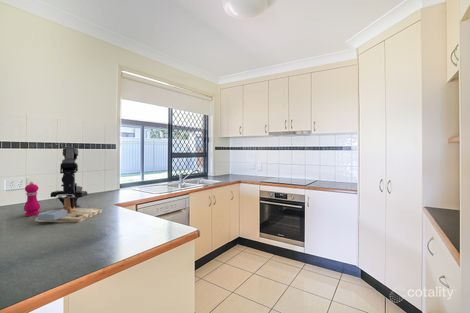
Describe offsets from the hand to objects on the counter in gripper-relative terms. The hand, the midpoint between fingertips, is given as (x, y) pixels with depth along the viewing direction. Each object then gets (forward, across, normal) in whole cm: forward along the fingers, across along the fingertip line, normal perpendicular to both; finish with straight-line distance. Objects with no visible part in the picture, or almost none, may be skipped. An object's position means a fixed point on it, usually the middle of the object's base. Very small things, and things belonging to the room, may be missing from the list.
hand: (69, 208), depth 136 cm
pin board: (+4, -3, +3) cm, 6 cm away
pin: (+3, 0, 0) cm, 3 cm away
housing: (+2, 0, +12) cm, 12 cm away
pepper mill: (+4, +22, +1) cm, 22 cm away
